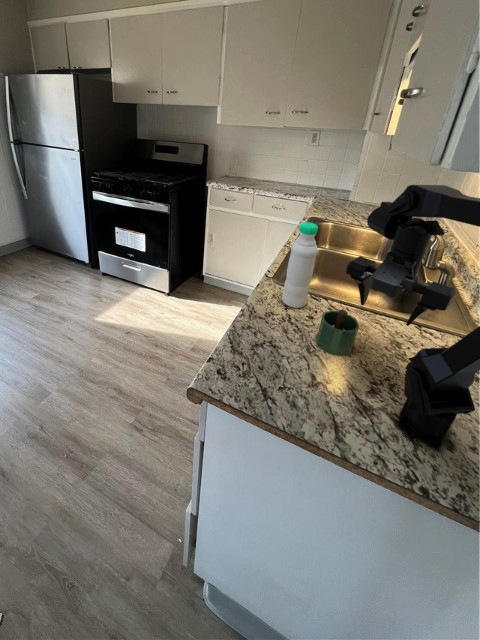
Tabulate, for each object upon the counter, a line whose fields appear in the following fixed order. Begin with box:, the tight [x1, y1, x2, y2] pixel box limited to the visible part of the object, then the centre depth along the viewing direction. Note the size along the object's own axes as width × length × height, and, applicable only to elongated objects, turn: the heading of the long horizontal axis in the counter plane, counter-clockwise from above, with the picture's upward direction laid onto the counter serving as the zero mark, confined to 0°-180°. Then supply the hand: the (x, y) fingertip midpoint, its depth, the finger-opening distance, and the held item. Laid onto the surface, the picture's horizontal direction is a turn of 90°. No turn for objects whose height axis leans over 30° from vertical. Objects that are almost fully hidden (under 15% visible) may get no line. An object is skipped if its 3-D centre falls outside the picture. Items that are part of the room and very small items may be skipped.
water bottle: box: [281, 221, 319, 309], centre depth 89 cm, size 7×7×25 cm
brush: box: [332, 309, 349, 330], centre depth 76 cm, size 3×3×9 cm
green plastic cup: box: [316, 310, 360, 356], centre depth 77 cm, size 8×8×7 cm
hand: (384, 314), depth 68 cm, fingers open, 9 cm apart
